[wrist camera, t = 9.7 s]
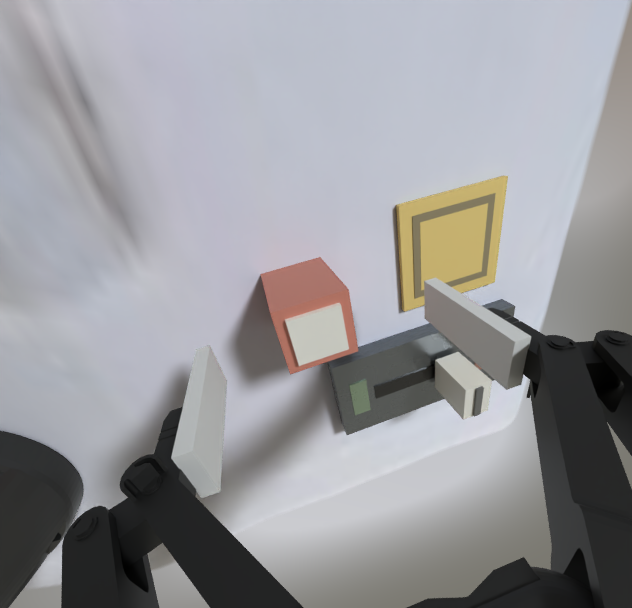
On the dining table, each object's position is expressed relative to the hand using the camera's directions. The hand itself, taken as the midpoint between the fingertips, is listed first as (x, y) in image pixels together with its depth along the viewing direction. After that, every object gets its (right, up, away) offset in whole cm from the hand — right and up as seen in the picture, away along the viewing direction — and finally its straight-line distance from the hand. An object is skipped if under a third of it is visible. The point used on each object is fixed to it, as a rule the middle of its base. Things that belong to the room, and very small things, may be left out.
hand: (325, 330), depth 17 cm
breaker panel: (+10, -4, +12) cm, 16 cm away
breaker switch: (+12, -5, +10) cm, 16 cm away
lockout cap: (-2, +2, +5) cm, 6 cm away
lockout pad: (+10, +6, +6) cm, 14 cm away
